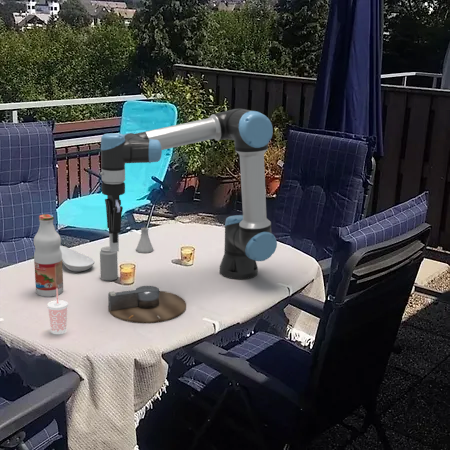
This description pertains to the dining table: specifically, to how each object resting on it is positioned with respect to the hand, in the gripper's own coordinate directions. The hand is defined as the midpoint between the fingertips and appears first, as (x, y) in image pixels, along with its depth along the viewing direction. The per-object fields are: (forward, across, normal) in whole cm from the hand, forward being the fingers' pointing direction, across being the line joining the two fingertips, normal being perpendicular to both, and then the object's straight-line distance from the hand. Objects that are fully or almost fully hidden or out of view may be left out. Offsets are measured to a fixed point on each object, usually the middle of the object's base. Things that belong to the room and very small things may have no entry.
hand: (114, 250), depth 211 cm
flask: (+19, -52, +27) cm, 61 cm away
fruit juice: (+19, -18, -19) cm, 32 cm away
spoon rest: (+19, -43, -7) cm, 48 cm away
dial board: (+19, +8, +9) cm, 22 cm away
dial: (+17, +7, +5) cm, 19 cm away
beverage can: (+19, -24, +4) cm, 30 cm away
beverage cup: (+19, +16, -22) cm, 33 cm away
